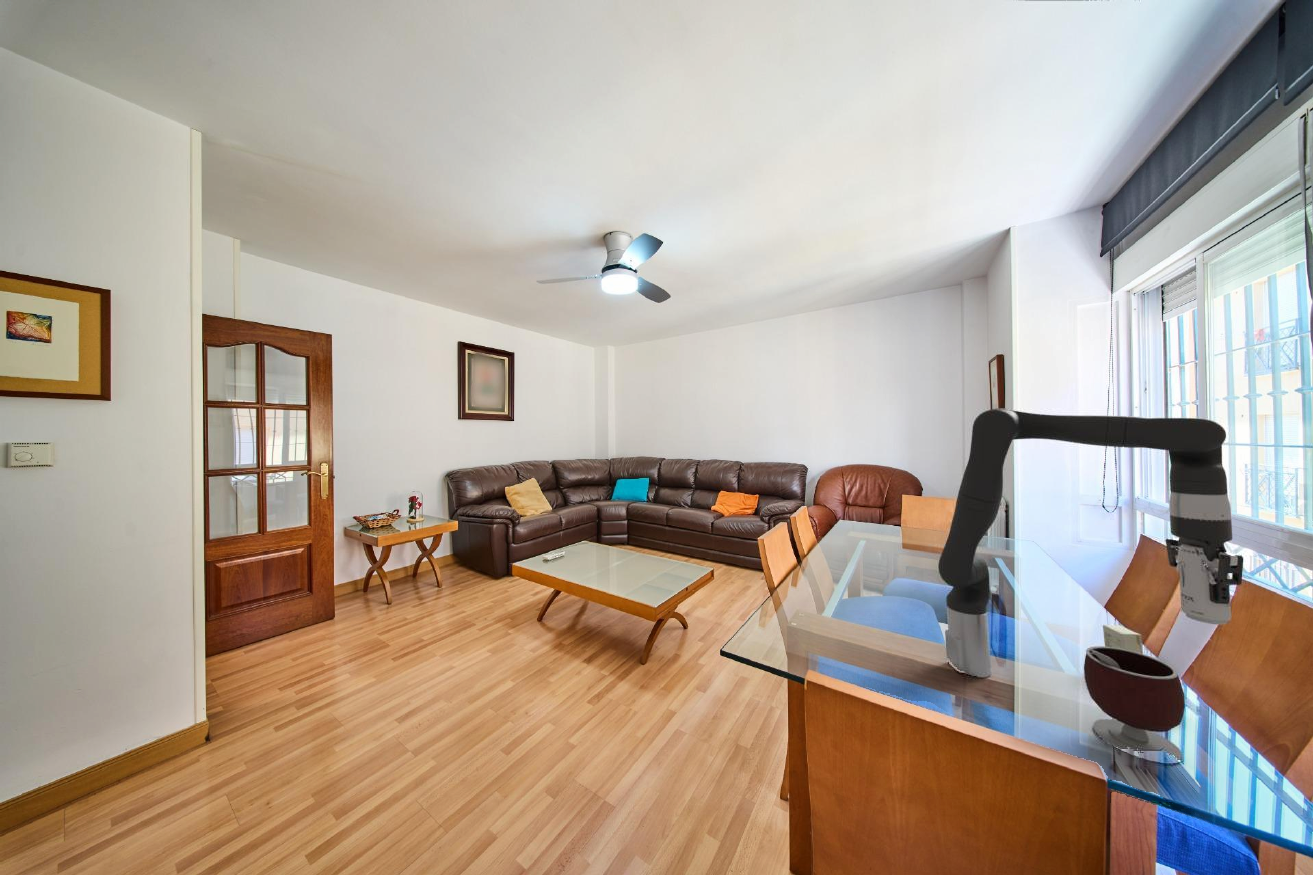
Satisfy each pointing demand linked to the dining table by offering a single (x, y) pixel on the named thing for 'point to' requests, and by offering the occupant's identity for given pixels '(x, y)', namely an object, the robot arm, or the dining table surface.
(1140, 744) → the mate gourd
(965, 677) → the dining table surface
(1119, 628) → the skincare box
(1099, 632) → the dining table surface
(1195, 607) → the energy drink can
